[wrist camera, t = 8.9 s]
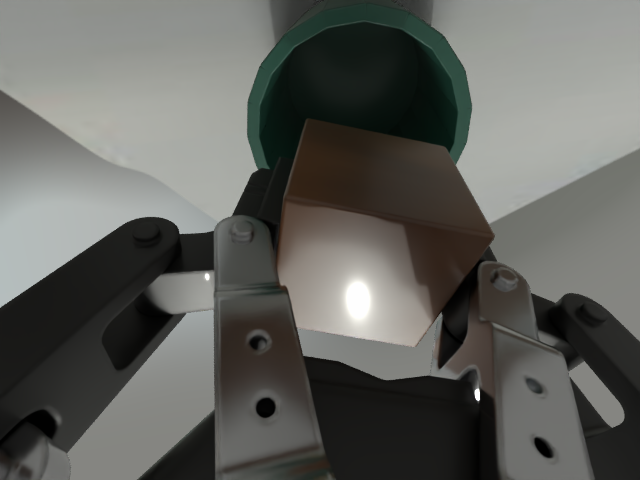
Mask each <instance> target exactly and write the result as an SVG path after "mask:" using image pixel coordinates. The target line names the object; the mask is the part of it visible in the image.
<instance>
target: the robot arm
mask: <svg viewBox="0 0 640 480" xmlns="http://www.w3.org/2000/svg"><path fill="white" fill-rule="evenodd" d="M293 162H294V159H290V158H285V157H279V158H278V161H277V163H276V166H275V169H274V170H271V169H266V168H260V169H259V170H257V171H256V172H254V173H253V174H252V175H251V177H250V179H249V181H248V184H247V185H246V187H245V189H244V192H243V194H242V196H241V198H240V200H239V202H238V204H237V206H236V208H235V210H234V213H233V215H232V216H231V217H228V218H225V219H223V220H222V221H220V222H219V223H218V224H217V225H216V227H215V229H214V231H211V232H207V233H196V234H179V229H178V228H177V226H176V225H175V224H174V223H173V222H171V221H169V220H167V219H163V218H159V217H145V218H139V219H135V220H132V221H129V222H127V223H125V224H123V225H122V226H120V227H119V228H117V229H116V230H114V231H113V232H111V233H110V234H108V235H107V236H105V237H104V238H103V239H101V240H100V241H98V242H97V243H95V244H94V245H92V246H91V247H89V248H88V249H86V250H85V251H83V252H82V253H80V254H79V255H77V256H76V257H74V258H73V259H72V260H70V261H69V262H67V263H66V264H64V265H63V266H61V267H60V268H58V269H57V270H55V271H54V272H52V273H51V274H49V275H48V276H46V277H45V278H43V279H42V280H40V281H39V282H38V283H36V284H35V285H33V286H32V287H30V288H29V289H27V290H26V291H24V292H23V293H21V294H20V295H18V296H17V297H15V298H14V299H12V300H11V301H9V302H8V303H7V304H5V305H4V306H2V307H1V308H0V480H69V479H70V472H71V465H70V460H69V457H68V455H67V453H68V451H69V450H70V449H71V448H72V447H73V446H74V444H75V443H76V442H77V441H78V439H80V437H81V436H82V435H83V434H84V432H85V431H86V430H87V429H88V428H89V427H90V426H91V425H92V423H93V422H94V421H95V420H96V419H97V418H98V416H99V415H100V414H101V413H102V412H103V411H104V409H105V408H106V407H107V406H108V405H109V403H110V402H111V401H112V400H113V399H114V398H115V396H116V395H117V394H118V393H119V392H120V391H121V389H122V388H123V387H124V386H125V385H126V384H127V383H128V381H129V380H130V379H131V378H132V377H133V376H134V374H135V373H136V372H137V371H138V370H139V369H140V367H141V366H142V365H143V364H144V363H145V362H146V360H147V359H148V358H149V357H150V356H151V355H152V353H153V352H154V351H155V350H156V349H157V348H158V346H159V345H160V344H161V343H162V342H163V341H164V339H165V338H166V337H167V336H168V335H169V333H170V332H171V331H172V330H173V329H174V328H175V326H176V325H177V324H178V323H179V322H180V321H181V320H182V318H183V317H184V316H185V315H186V313H190V312H198V311H207V310H214V378H215V379H214V380H215V381H214V385H215V409H214V410H213V411H212V412H211V413H210V414H209V415H208V416H207V417H206V418H204V419H203V420H202V421H201V422H200V423H199V424H198V425H197V426H196V427H195V428H193V429H192V430H191V431H190V432H189V433H188V434H187V435H186V436H185V437H184V438H183V439H182V440H180V441H179V442H178V443H177V444H176V445H175V446H174V447H173V448H172V449H170V450H169V451H168V452H167V453H166V454H165V455H164V456H163V457H162V458H161V459H159V460H158V461H157V462H156V463H155V464H154V465H153V466H152V467H151V468H150V469H148V470H147V471H146V472H145V473H144V474H143V475H142V476H141V477H140V478H139V479H137V480H640V342H639V341H638V340H637V339H636V338H635V337H634V336H633V335H632V334H631V333H630V332H629V331H628V330H627V329H626V328H625V327H624V326H623V325H622V324H621V323H620V322H619V321H618V320H617V319H616V318H615V317H614V316H613V315H612V314H611V313H610V312H609V311H607V310H606V309H605V308H604V307H602V306H601V305H600V304H598V303H597V302H595V301H593V300H592V299H590V298H588V297H585V296H583V295H579V294H574V293H569V294H566V295H564V296H563V297H562V298H561V299H560V300H559V301H558V302H556V303H554V302H552V301H549V300H547V299H544V298H542V297H539V296H537V295H535V294H532V293H531V291H530V287H529V285H528V283H527V282H526V280H525V279H524V278H523V277H522V276H521V275H520V274H519V273H518V272H517V271H515V270H514V269H512V268H511V267H509V266H507V265H505V264H502V263H499V262H497V260H496V258H495V256H494V255H493V252H492V250H491V249H490V247H488V248H487V249H486V251H485V252H484V253H483V255H482V256H481V258H480V259H479V260H478V262H477V263H476V264H475V266H474V267H473V269H472V270H471V271H470V273H469V274H468V276H467V277H466V278H465V280H464V281H463V282H462V284H461V285H460V287H459V288H458V289H457V291H456V292H455V294H454V295H453V296H452V298H451V299H450V300H449V302H448V303H447V305H446V306H445V307H444V309H443V310H442V311H441V312H442V317H441V318H440V319H439V321H438V322H437V325H436V330H435V339H434V346H433V354H432V362H431V370H430V375H429V376H421V377H413V378H405V379H396V380H383V379H380V378H377V377H375V376H372V375H370V374H368V373H365V372H363V371H360V370H358V369H355V368H353V367H350V366H348V365H346V364H344V363H341V362H339V361H333V360H326V359H320V358H314V357H307V356H303V354H302V349H301V345H300V340H299V336H298V332H297V327H296V322H295V318H294V313H293V309H292V304H291V300H290V295H289V292H288V289H287V287H286V285H281V284H280V280H279V275H278V270H277V265H276V252H277V244H278V236H279V228H280V220H281V212H282V204H283V197H284V193H285V190H286V186H287V183H288V179H289V176H290V172H291V169H292V165H293ZM584 361H585V362H586V363H587V364H588V365H589V367H590V368H591V369H592V370H593V371H594V373H595V374H596V375H597V376H598V377H599V379H600V380H601V381H602V382H603V383H604V385H605V386H606V387H607V388H608V389H609V390H610V392H611V393H612V394H613V395H614V396H615V398H616V399H617V400H618V401H619V402H620V404H621V405H622V407H623V410H624V414H625V418H624V421H623V422H622V423H621V424H620V425H618V426H616V427H613V428H611V427H610V426H609V425H608V424H607V423H606V422H605V421H604V420H603V419H602V418H601V416H600V415H599V414H598V413H597V411H596V410H595V409H594V407H593V406H592V405H591V403H590V402H589V401H588V400H587V398H586V397H585V396H584V394H583V393H582V392H581V391H580V389H579V388H578V387H577V385H576V384H575V383H574V382H573V380H572V379H571V378H570V377H569V373H568V372H569V371H570V370H572V369H573V368H575V367H576V366H578V365H579V364H580V363H582V362H584Z"/></svg>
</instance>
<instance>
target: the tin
mask: <svg viewBox="0 0 640 480" xmlns="http://www.w3.org/2000/svg"><path fill="white" fill-rule="evenodd" d="M471 112H472V103H471V98H470V92H469V87H468V82H467V76H466V71H465V69H464V67H463V65H462V64H461V62H460V60H459V59H458V57H457V56H456V54H455V52H454V51H453V49H452V48H451V46H450V44H449V43H448V41H447V40H446V38H445V37H444V36H443V35H442V34H441V33H440V32H438V31H437V30H435V29H434V28H433V27H431V26H430V25H428V24H427V23H425V22H424V21H423V20H421V19H420V18H418V17H417V16H415V15H414V14H413V13H411V12H410V11H408V10H406V9H405V8H403V7H402V6H400V5H398V4H397V3H395V2H394V1H392V0H324V1H322V2H320V3H319V4H317V5H316V6H314V7H312V8H311V9H309V10H308V11H307V12H306V13H305V14H304V15H303V16H302V17H301V18H300V19H299V20H298V21H297V22H296V23H295V24H294V25H293V26H292V27H291V28H290V29H289V30H288V31H287V32H286V33H285V34H284V35H283V37H282V38H281V39H280V41H279V42H278V43H277V44H276V46H275V47H274V48H273V49H272V51H271V52H270V53H269V54H268V56H267V57H266V58H265V60H264V61H263V62H262V63H261V66H260V67H259V70H258V73H257V75H256V78H255V81H254V84H253V87H252V90H251V93H250V96H249V99H248V109H247V135H248V140H249V144H250V147H251V150H252V153H253V157H254V160H255V163H256V166H257V168H258V169H260V168H266V169H271V170H274V169H275V166H276V163H277V161H278V158H279V157H285V158H290V159H294V158H295V155H296V151H297V148H298V145H299V141H300V138H301V134H302V131H303V127H304V124H305V120H306V119H307V118H310V119H315V120H320V121H324V122H329V123H334V124H339V125H344V126H348V127H353V128H358V129H363V130H368V131H372V132H377V133H382V134H387V135H392V136H397V137H401V138H406V139H411V140H416V141H421V142H425V143H430V144H435V145H440V146H444V147H446V149H447V151H448V153H449V154H450V156H451V158H452V160H453V161H454V163H455V165H456V164H457V161H458V159H459V157H460V155H461V153H462V151H463V149H464V147H465V145H466V143H467V138H468V131H469V125H470V118H471Z"/></svg>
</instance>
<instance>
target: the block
mask: <svg viewBox="0 0 640 480" xmlns="http://www.w3.org/2000/svg"><path fill="white" fill-rule="evenodd" d="M494 237H495V235H494V233H493V231H492V229H491V227H490V226H489V224H488V222H487V220H486V219H485V217H484V215H483V213H482V211H481V210H480V208H479V206H478V204H477V202H476V201H475V199H474V197H473V195H472V194H471V192H470V190H469V188H468V186H467V185H466V183H465V181H464V179H463V177H462V176H461V174H460V172H459V170H458V169H457V167H456V165H455V163H454V161H453V160H452V158H451V156H450V154H449V153H448V151H447V149H446V147H444V146H440V145H435V144H430V143H425V142H421V141H416V140H411V139H406V138H401V137H397V136H392V135H387V134H382V133H377V132H372V131H368V130H363V129H358V128H353V127H348V126H344V125H339V124H334V123H329V122H324V121H320V120H315V119H310V118H307V119H306V120H305V124H304V127H303V131H302V134H301V138H300V141H299V145H298V148H297V151H296V155H295V158H294V162H293V165H292V169H291V172H290V176H289V179H288V183H287V186H286V190H285V193H284V197H283V204H282V212H281V220H280V228H279V236H278V244H277V252H276V265H277V270H278V275H279V280H280V284H281V285H286V287H287V289H288V292H289V295H290V300H291V304H292V309H293V313H294V318H295V322H296V327H297V328H300V329H306V330H312V331H318V332H324V333H330V334H336V335H342V336H349V337H354V338H361V339H367V340H373V341H379V342H385V343H391V344H397V345H403V346H410V347H416V346H417V345H418V343H419V342H420V341H421V339H422V338H423V336H424V335H425V334H426V332H427V331H428V329H429V328H430V327H431V325H432V324H433V323H434V321H435V320H436V318H437V317H438V315H439V314H440V313H441V311H442V310H443V309H444V307H445V306H446V305H447V303H448V302H449V300H450V299H451V298H452V296H453V295H454V294H455V292H456V291H457V289H458V288H459V287H460V285H461V284H462V282H463V281H464V280H465V278H466V277H467V276H468V274H469V273H470V271H471V270H472V269H473V267H474V266H475V264H476V263H477V262H478V260H479V259H480V258H481V256H482V255H483V253H484V252H485V251H486V249H487V248H488V247H489V245H490V244H491V242H492V241H493V240H494Z"/></svg>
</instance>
